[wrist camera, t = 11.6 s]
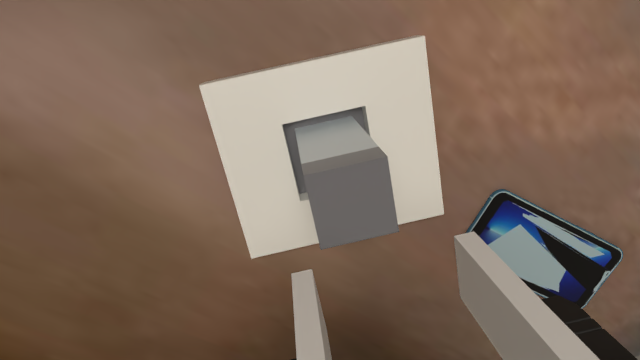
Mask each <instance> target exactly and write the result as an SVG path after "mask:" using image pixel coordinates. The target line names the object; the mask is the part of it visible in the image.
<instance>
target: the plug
mask: <svg viewBox="0 0 640 360" xmlns="http://www.w3.org/2000/svg"><path fill="white" fill-rule="evenodd" d="M295 133H296V139H297V144H298V149H299V155H300V160H301V166H302V171H303V176H304V180H305V185H306V189H307V193H308V198H309V202H310V206H311V211H312V215H313V219H314V223H315V228H316V232H317V236H318V241H319V245H320V249H321V250H322V249H326V248H330V247H335V246H339V245H343V244H348V243H352V242H356V241H361V240H365V239H369V238H374V237H378V236H382V235H387V234H391V233H395V232H399V228H398V222H397V215H396V209H395V202H394V196H393V189H392V183H391V176H390V170H389V163H388V157H387V155H386V154H385V153H384V152H383V151H382V150H381V149H380V147H379V146H378V145H377V144H376V143H375V142H374V141H373V139H372V138H371V137H370V136H369V135H368V134H367V133H366V131H365V130H364V129H363V128H362V127H361V126H360V125H359V124H358V122H357V121H356V120H355V119H354V118H353V117H352V116H349V117H345V118H340V119H336V120H331V121H327V122H323V123H318V124H314V125H309V126H305V127H300V128H296V129H295Z"/></svg>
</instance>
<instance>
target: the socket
mask: <svg viewBox="0 0 640 360" xmlns="http://www.w3.org/2000/svg"><path fill="white" fill-rule="evenodd" d="M199 87H200V90H201V94H202V97H203V100H204V104H205V107H206V110H207V113H208V117H209V120H210V123H211V127H212V130H213V133H214V137H215V140H216V143H217V146H218V150H219V153H220V156H221V160H222V163H223V166H224V170H225V173H226V176H227V180H228V183H229V186H230V189H231V193H232V196H233V199H234V203H235V206H236V209H237V213H238V216H239V219H240V222H241V226H242V229H243V232H244V236H245V239H246V242H247V246H248V249H249V252H250V255H251V259H252V258H256V257H260V256H265V255H269V254H273V253H278V252H282V251H286V250H291V249H295V248H299V247H304V246H308V245H312V244H317V243H319V241H318V236H317V232H316V228H315V223H314V219H313V215H312V211H311V206H310V202H309V198H308V193H307V189H306V185H305V180H304V176H303V171H302V166H301V160H300V155H299V149H298V144H297V139H296V133H295V129H296V128H300V127H305V126H309V125H314V124H318V123H323V122H327V121H331V120H336V119H340V118H345V117H349V116H352V117H353V118H354V119H355V120H356V121H357V122H358V124H359V125H360V126H361V127H362V128H363V129H364V130H365V131H366V133H367V134H368V135H369V136H370V137H371V138H372V139H373V141H374V142H375V143H376V144H377V145H378V146H379V147H380V149H381V150H382V151H383V152H384V153H385V154H386V155H387V157H388V163H389V170H390V176H391V183H392V189H393V196H394V202H395V209H396V215H397V222H398V225H399V224H404V223H408V222H412V221H417V220H421V219H425V218H430V217H434V216H438V215H443V214H444V209H443V200H442V191H441V182H440V173H439V163H438V154H437V145H436V136H435V126H434V117H433V108H432V99H431V90H430V80H429V71H428V62H427V53H426V44H425V36H418V35H416V36H412V37H407V38H403V39H398V40H394V41H389V42H385V43H380V44H375V45H371V46H366V47H362V48H357V49H353V50H348V51H344V52H339V53H335V54H330V55H326V56H321V57H316V58H312V59H307V60H303V61H298V62H294V63H289V64H285V65H280V66H276V67H271V68H267V69H262V70H257V71H253V72H248V73H244V74H239V75H235V76H230V77H226V78H221V79H217V80H212V81H208V82H203V83H202V84H200V85H199Z"/></svg>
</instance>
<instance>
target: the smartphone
mask: <svg viewBox="0 0 640 360" xmlns="http://www.w3.org/2000/svg"><path fill="white" fill-rule="evenodd" d="M473 231H474V232H475V233H476V234H477V235H478V236H479V237H480V238H481V239H482V240H483V241H484V242H485V243H486V244H487V245H488V246H489V247H490V248H491V249H492V250H493V251H494V252H495V253H496V254H497V255H498V256H499V257H500V258H501V259H502V260H503V261H504V262H505V263H506V264H507V265H508V267H509V268H510V269H511V270H512V271H513V272H514V273H515V274H516V275H517V276H518V277H519V278H520V279H521V280H522V281H523V282H524V283H525V284H526V285H527V286H528V287H529V288H530V289H531V290H532V291H533V292H534V293H536V294H538V295H540V296H542V297H544V298H549V297H553V296H557V295H559V296H561V297H563V298H565V299H567V300H569V301H571V302H573V303H575V304H577V305H578V306H579V307H580V308H584V307H585V306H586V305H587V303H588V302H589V301H590V300H591V298H592V297H593V296H594V295H595V293H596V292H597V291H598V289H599V288H600V287H601V286H602V284H603V283H604V282H605V281H606V279H607V278H608V277H609V276H610V274H611V273H612V272H613V271H614V269H615V268H616V267H617V265H618V264H619V263H620V262H621V260H622V258H623V252H622V250H621V249H620V248H618V247H616V246H615V245H613V244H611V243H609V242H607V241H605V240H603V239H602V238H599V237H597V236H596V235H594V234H593V233H591V232H589V231H586V230H585V229H583V228H581V227H579V226H576V225H574V224H572V223H570V222H568V221H566V220H564V219H562V218H560V217H558V216H556V215H554V214H552V213H550V212H548V211H547V210H545V209H543V208H541V207H539V206H537V205H535V204H533V203H531V202H529V201H527V200H525V199H523V198H521V197H519V196H517V195H515V194H513V193H511V192H509V191H507V190H505V189H500V190H496V191H495V192H493V193H492V194H491V195H490V197H489V198H488V200H487V201H486V204H484V206H483V208H482V210H480V212H479V213H478V215H477V216H476V219H475V220H474V222H473V223H472V224H471V225H470V227H469V228H468V230H467V232H466V233H469V232H473Z"/></svg>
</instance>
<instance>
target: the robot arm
mask: <svg viewBox="0 0 640 360" xmlns="http://www.w3.org/2000/svg"><path fill="white" fill-rule="evenodd" d="M454 242H455V252H456V262H457V272H458V282H459V291H460V298H461V299H462V301H463V302H464V304H465V305H466V307H467V308H468V309H469V311H470V312H471V314H472V315H473V317H474V318H475V320H476V321H477V323H478V324H479V325H480V327H481V328H482V330H483V331H484V333H485V334H486V336H487V337H488V339H489V340H490V341H491V343H492V344H493V346H494V347H495V349H496V350H497V352H498V353H499V355H500V356H501V357H502V359H503V360H637V359H636V358H635V357H634V356H633V355H632V354H631V353H630V352H629V351H628V350H626V349H625V348H624V347H623V346H622V345H621V344H620V343H619V342H618V341H617V340H616V339H614V338H613V337H612V336H611V335H610V334H609V333H608V332H607V331H606V330H605V329H602V328H601V326H600V325H599V324H598V323H597V322H596V321H595V320H594V319H591V318H590V316H589V315H588V314H587V313H586V312H585V311H584V310H583V309H582V308H580V307H579V306H578V305H577V304H575V303H573V302H571V301H569V300H567V299H565V298H563V297H561V296H559V295H557V296H553V297H549V298H545V299H540V298H539V297H538V296H537V295H536V294H535V293H534V292H533V291H532V290H531V289H530V288H529V287H528V286H527V285H526V284H525V283H524V282H523V281H522V280H521V279H520V278H519V277H518V276H517V275H516V274H515V273H514V272H513V271H512V270H511V269H510V268H509V267H508V265H507V264H506V263H505V262H504V261H503V260H502V259H501V258H500V257H499V256H498V255H497V254H496V253H495V252H494V251H493V250H492V249H491V248H490V247H489V246H488V245H487V244H486V243H485V242H484V241H483V240H482V239H481V238H480V237H479V236H478V235H477V234H476V233H475V232H474V231H473V232H469V233H465V234H460V235H456V236H454ZM291 275H292V291H293V307H294V323H295V340H296V356H297V358H296V359H291V360H332V358H331V352H330V346H329V340H328V334H327V328H326V324H325V320H324V316H323V312H322V308H321V304H320V300H319V296H318V292H317V288H316V284H315V279H314V275H313V271H312V269H310V270H305V271H301V272H297V273H292V274H291Z"/></svg>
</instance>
